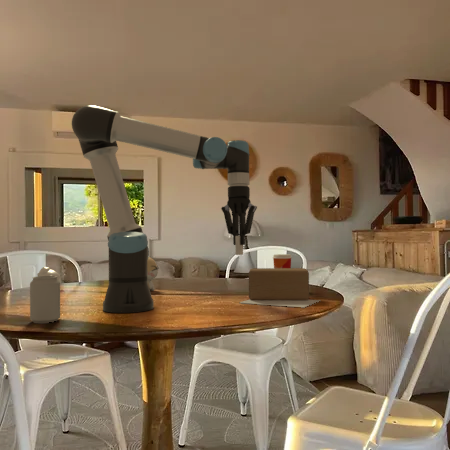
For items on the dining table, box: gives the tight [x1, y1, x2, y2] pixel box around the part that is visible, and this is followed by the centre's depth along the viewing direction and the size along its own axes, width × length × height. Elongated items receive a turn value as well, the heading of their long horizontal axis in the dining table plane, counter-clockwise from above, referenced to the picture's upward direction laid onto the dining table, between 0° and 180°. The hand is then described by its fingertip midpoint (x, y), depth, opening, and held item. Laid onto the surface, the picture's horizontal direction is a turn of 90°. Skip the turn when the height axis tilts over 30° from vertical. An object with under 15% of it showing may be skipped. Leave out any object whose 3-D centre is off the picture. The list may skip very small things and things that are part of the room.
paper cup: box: [272, 253, 293, 268], centre depth 188 cm, size 8×8×14 cm
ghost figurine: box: [36, 266, 62, 284], centre depth 189 cm, size 9×10×10 cm
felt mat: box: [239, 298, 321, 309], centre depth 155 cm, size 16×22×1 cm
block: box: [248, 267, 310, 300], centre depth 162 cm, size 10×10×20 cm
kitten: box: [147, 256, 160, 292], centre depth 189 cm, size 15×10×15 cm
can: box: [29, 276, 61, 324], centre depth 126 cm, size 8×8×12 cm
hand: (239, 254), depth 163 cm, fingers closed
